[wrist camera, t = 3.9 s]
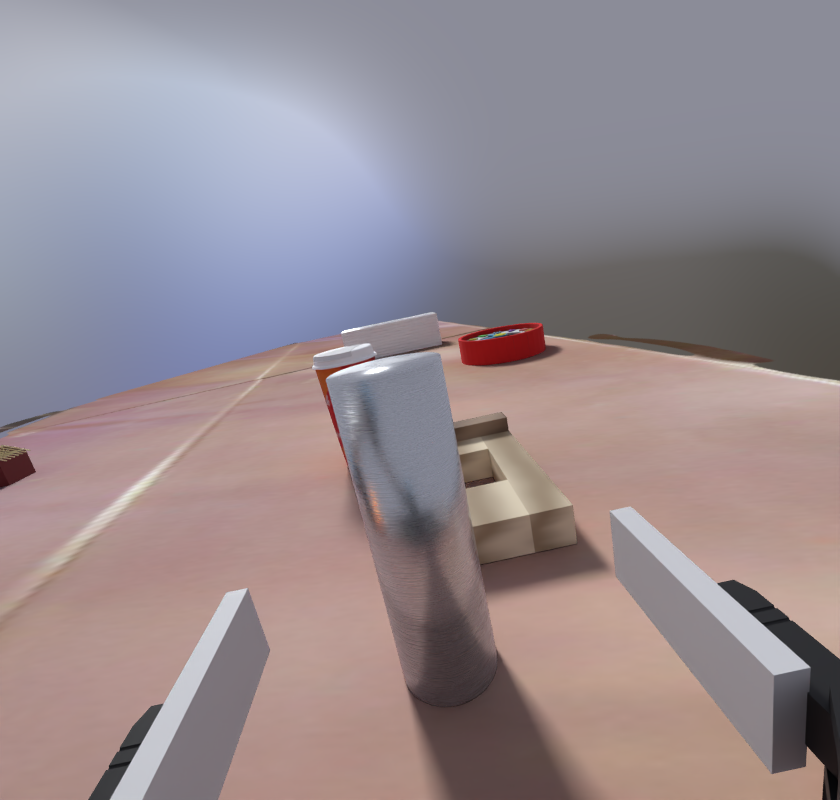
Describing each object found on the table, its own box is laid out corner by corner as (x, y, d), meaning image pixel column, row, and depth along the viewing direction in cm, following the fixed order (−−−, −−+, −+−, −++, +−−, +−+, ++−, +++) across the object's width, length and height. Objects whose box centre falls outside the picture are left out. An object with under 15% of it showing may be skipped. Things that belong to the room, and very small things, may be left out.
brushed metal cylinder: (404, 717, 20) (316, 391, 16) (402, 633, 24) (334, 368, 20) (508, 693, 20) (447, 363, 16) (485, 615, 24) (434, 347, 20)
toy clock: (561, 322, 95) (489, 342, 87) (564, 347, 96) (493, 369, 89) (507, 323, 113) (443, 340, 105) (510, 344, 114) (447, 363, 106)
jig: (393, 583, 29) (379, 526, 28) (392, 474, 46) (384, 437, 45) (577, 543, 29) (570, 485, 28) (507, 450, 46) (501, 412, 45)
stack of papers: (348, 364, 139) (341, 333, 137) (351, 360, 150) (344, 330, 147) (442, 345, 140) (436, 313, 138) (438, 341, 151) (432, 312, 148)
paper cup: (358, 447, 57) (333, 347, 53) (409, 446, 54) (385, 339, 50) (326, 474, 50) (294, 361, 47) (381, 474, 47) (352, 352, 43)
